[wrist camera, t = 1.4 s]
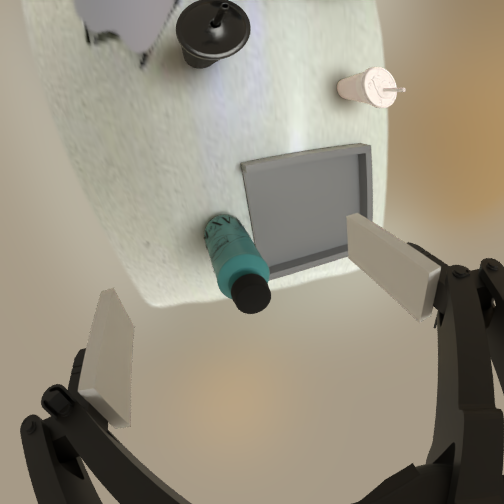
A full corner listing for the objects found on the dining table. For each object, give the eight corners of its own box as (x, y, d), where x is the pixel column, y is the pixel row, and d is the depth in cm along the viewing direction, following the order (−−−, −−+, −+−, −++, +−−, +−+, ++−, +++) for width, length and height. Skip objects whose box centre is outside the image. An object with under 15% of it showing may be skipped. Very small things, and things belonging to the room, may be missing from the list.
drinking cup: (191, 87, 36) (208, 60, 19) (164, 48, 33) (161, -5, 15) (236, 61, 36) (286, 23, 19) (209, 23, 32) (241, -38, 15)
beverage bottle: (247, 217, 48) (295, 280, 30) (232, 252, 50) (268, 329, 32) (210, 204, 45) (238, 265, 28) (195, 242, 47) (214, 319, 30)
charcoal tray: (240, 162, 43) (245, 165, 41) (360, 143, 47) (370, 145, 44) (260, 273, 53) (265, 281, 50) (363, 242, 56) (371, 248, 54)
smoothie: (349, 113, 44) (405, 119, 32) (323, 90, 41) (376, 87, 29) (366, 87, 42) (423, 87, 30) (341, 64, 40) (396, 55, 28)
